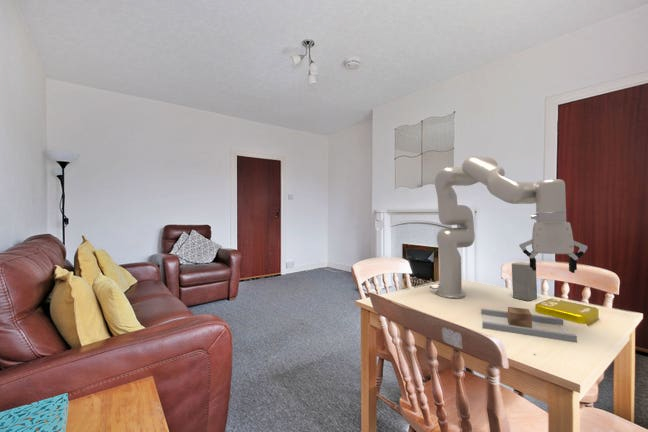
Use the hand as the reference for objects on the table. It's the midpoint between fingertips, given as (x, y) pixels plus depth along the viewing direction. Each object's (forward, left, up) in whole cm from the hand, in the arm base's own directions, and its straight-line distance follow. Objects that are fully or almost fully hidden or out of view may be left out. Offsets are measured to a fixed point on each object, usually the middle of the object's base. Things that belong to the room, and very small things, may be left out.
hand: (552, 271), depth 91 cm
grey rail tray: (-8, -1, -20) cm, 22 cm away
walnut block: (-9, -1, -19) cm, 21 cm away
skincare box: (-2, +39, -20) cm, 44 cm away
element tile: (+8, +19, -21) cm, 30 cm away
